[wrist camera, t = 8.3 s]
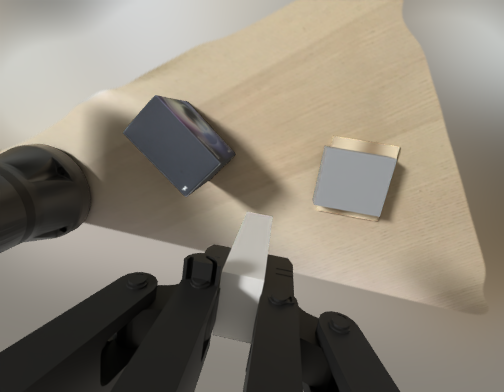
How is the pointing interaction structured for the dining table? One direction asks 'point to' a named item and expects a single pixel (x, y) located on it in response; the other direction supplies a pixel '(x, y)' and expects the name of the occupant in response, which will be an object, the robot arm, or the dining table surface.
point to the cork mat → (362, 147)
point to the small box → (179, 143)
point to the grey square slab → (353, 180)
